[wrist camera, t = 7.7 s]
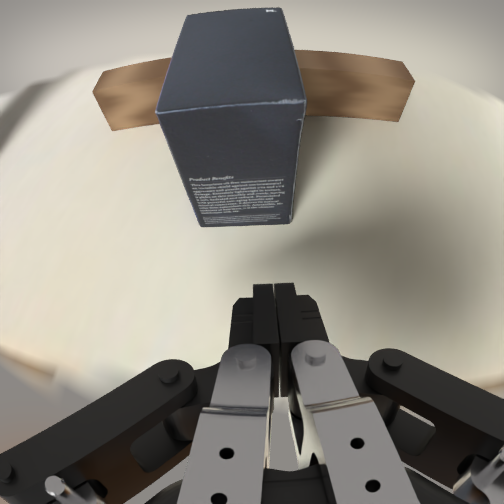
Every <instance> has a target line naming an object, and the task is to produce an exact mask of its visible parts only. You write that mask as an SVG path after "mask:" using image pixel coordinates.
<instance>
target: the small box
mask: <svg viewBox="0 0 504 504" xmlns="http://www.w3.org/2000/svg"><path fill="white" fill-rule="evenodd" d="M306 108H307V98H306V94H305V89H304V85H303V81H302V77H301V73H300V69H299V66H298V62H297V58H296V55H295V50H294V46H293V43H292V40H291V36H290V34H289V30H288V27H287V23H286V20H285V16H284V14H283V11H282V9H281V8H252V9H251V8H250V9H235V10H224V11H215V12H206V13H199V14H192V15H187V17H186V19H185V22H184V24H183V27H182V30H181V33H180V36H179V38H178V41H177V44H176V47H175V50H174V53H173V56H172V59H171V61H170V64H169V68H168V71H167V74H166V77H165V80H164V83H163V86H162V90H161V93H160V96H159V100H158V103H157V106H156V110H155V113H156V115H157V117H158V120H159V123H160V126H161V128H162V131H163V133H164V136H165V138H166V141H167V144H168V146H169V149H170V151H171V154H172V156H173V159H174V162H175V164H176V167H177V169H178V172H179V174H180V177H181V179H182V182H183V185H184V187H185V190H186V192H187V195H188V197H189V200H190V202H191V205H192V207H193V210H194V213H195V215H196V218H197V220H198V222H199V225H200V226H201V227H224V226H250V225H279V224H290V223H291V221H292V211H293V199H294V191H295V181H296V175H297V165H298V155H299V148H300V141H301V134H302V128H303V123H304V117H305V114H306Z"/></svg>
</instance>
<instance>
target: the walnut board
mask: <svg viewBox="0 0 504 504" xmlns="http://www.w3.org/2000/svg"><path fill="white" fill-rule="evenodd" d="M295 55H296V58H297V62H298V66H299V69H300V73H301V77H302V81H303V85H304V89H305V94H306V98H307V108H306V114H305V115H308V116H336V117H352V118H365V119H376V120H386V121H395V122H398V121H399V119H400V116H401V114H402V112H403V109H404V107H405V105H406V102H407V100H408V97H409V95H410V92H411V90H412V88H413V85H414V83H415V80H414V79H413V77H412V76H411V74H410V73H409V71H408V70H407V68H406V67H405V65H404V64H403V62H401V61H395V60H389V59H384V58H377V57H370V56H364V55H356V54H348V53H338V52H325V51H310V50H295ZM171 59H172V57H171V58H165V59H159V60H153V61H148V62H143V63H138V64H133V65H128V66H124V67H120V68H116V69H112V70H108V71H104V72H103V73H102V75H101V77H100V78H99V80H98V82H97V84H96V86H95V88H94V89H93V91H92V92H93V94H94V96H95V98H96V100H97V102H98V104H99V106H100V108H101V110H102V112H103V114H104V116H105V118H106V120H107V122H108V124H109V126H110V128H111V130H112V131H116V130H121V129H127V128H133V127H139V126H146V125H153V124H160V123H159V120H158V117H157V115H156V113H155V110H156V106H157V103H158V100H159V96H160V93H161V90H162V86H163V83H164V80H165V77H166V74H167V71H168V68H169V64H170V61H171Z"/></svg>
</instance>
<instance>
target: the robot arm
mask: <svg viewBox="0 0 504 504" xmlns="http://www.w3.org/2000/svg"><path fill="white" fill-rule="evenodd" d="M279 382H280V394H281V397H288V401H289V412H288V416H289V421H290V426H291V431H292V436H293V441H294V445H295V451H296V455H297V461H298V470H297V471H290V472H289V471H281V470H274V469H269V459H270V458H269V457H270V442H271V422H272V413H273V410H274V397H279ZM401 405H402V406H404V407H405V408H407V409H409V410H411V411H413V412H414V413H416V414H418V415H420V416H422V417H424V418H425V419H427V420H429V421H431V422H432V423H433V424H434V426H435V427H434V426H431V425H429V424H427V423H425V422H423V421H421V420H419V419H418V418H416V417H414V416H412V415H410V414H408V413H407V412H405V411H403V410H401V409H400V406H401ZM187 456H189V458H188V462H187V466H186V470H185V474H184V478H183V479H182V480H179V481H177V482H175V483H173V484H171V485H169V486H168V487H166V488H164V489H163V490H161V491H160V492H159V493H157V494H156V495H155V496H154V497H152V498H151V499H150V500H149V501H147V502H146V503H145V504H504V399H502V398H500V397H498V396H496V395H493V394H491V393H489V392H487V391H485V390H483V389H481V388H478V387H476V386H474V385H472V384H470V383H468V382H466V381H463V380H461V379H459V378H457V377H455V376H453V375H451V374H449V373H447V372H445V371H442V370H440V369H438V368H436V367H434V366H432V365H430V364H428V363H426V362H424V361H422V360H420V359H418V358H416V357H413V356H411V355H409V354H407V353H405V352H403V351H401V350H398V349H391V348H387V349H381V350H378V351H376V352H374V353H373V354H372V355H371V356H370V358H369V361H364V360H355V359H349V358H346V357H343V356H341V354H340V352H339V351H338V349H337V348H336V347H335V346H334V345H332V344H330V343H329V339H328V336H327V333H326V330H325V327H324V324H323V321H322V319H321V315H320V312H319V309H318V306H317V303H316V301H315V300H313V299H312V298H311V297H310V296H309V295H296V291H295V287H294V283H275V284H274V292H273V284H253V298H239V299H238V300H237V301H236V303H235V304H234V305H233V310H232V319H231V328H230V337H229V347H228V350H226V351H225V352H224V354H223V355H222V358H221V361H220V362H219V363H217V364H215V365H213V366H210V367H207V368H203V369H198V370H194V369H193V368H192V366H191V365H190V364H188V363H187V362H185V361H182V360H176V359H170V360H164V361H161V362H158V363H156V364H154V365H153V366H151V367H150V368H148V369H147V370H145V371H143V372H142V373H140V374H138V375H137V376H135V377H134V378H132V379H130V380H129V381H127V382H126V383H124V384H122V385H121V386H119V387H117V388H116V389H114V390H112V391H111V392H109V393H107V394H106V395H104V396H103V397H101V398H99V399H97V400H96V401H94V402H92V403H91V404H89V405H87V406H86V407H84V408H82V409H81V410H79V411H77V412H75V413H74V414H72V415H70V416H69V417H67V418H65V419H63V420H62V421H60V422H58V423H56V424H55V425H53V426H51V427H49V428H48V429H46V430H44V431H42V432H41V433H38V434H37V435H35V436H33V437H31V438H30V439H28V440H26V441H24V442H22V443H20V444H18V445H17V446H15V447H13V448H11V449H9V450H7V451H5V452H3V453H1V454H0V497H1V498H3V499H4V500H5V501H6V502H8V503H9V504H123V503H125V502H126V501H128V500H129V499H131V498H132V497H134V496H135V495H136V494H138V493H139V492H141V491H142V490H144V489H145V488H147V487H148V486H149V485H151V484H152V483H154V482H155V481H156V480H158V479H159V478H160V477H162V476H163V475H164V474H165V473H167V472H168V471H170V470H171V469H172V468H173V467H175V466H176V465H177V464H179V463H180V462H181V461H182V460H184V459H185V458H186V457H187ZM402 462H404V463H406V464H407V465H409V466H411V467H413V468H414V469H416V470H418V471H420V472H421V473H423V474H425V475H427V476H428V477H430V478H432V479H434V480H436V481H438V482H439V483H441V484H443V485H445V486H447V487H449V488H451V489H453V494H452V493H450V492H448V491H447V490H445V489H443V488H441V487H440V486H438V485H436V484H435V483H433V482H431V481H429V480H428V479H426V478H425V477H423V476H421V475H420V474H418V473H416V472H415V471H413V470H411V469H409V468H406V467H404V466H403V464H402Z"/></svg>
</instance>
